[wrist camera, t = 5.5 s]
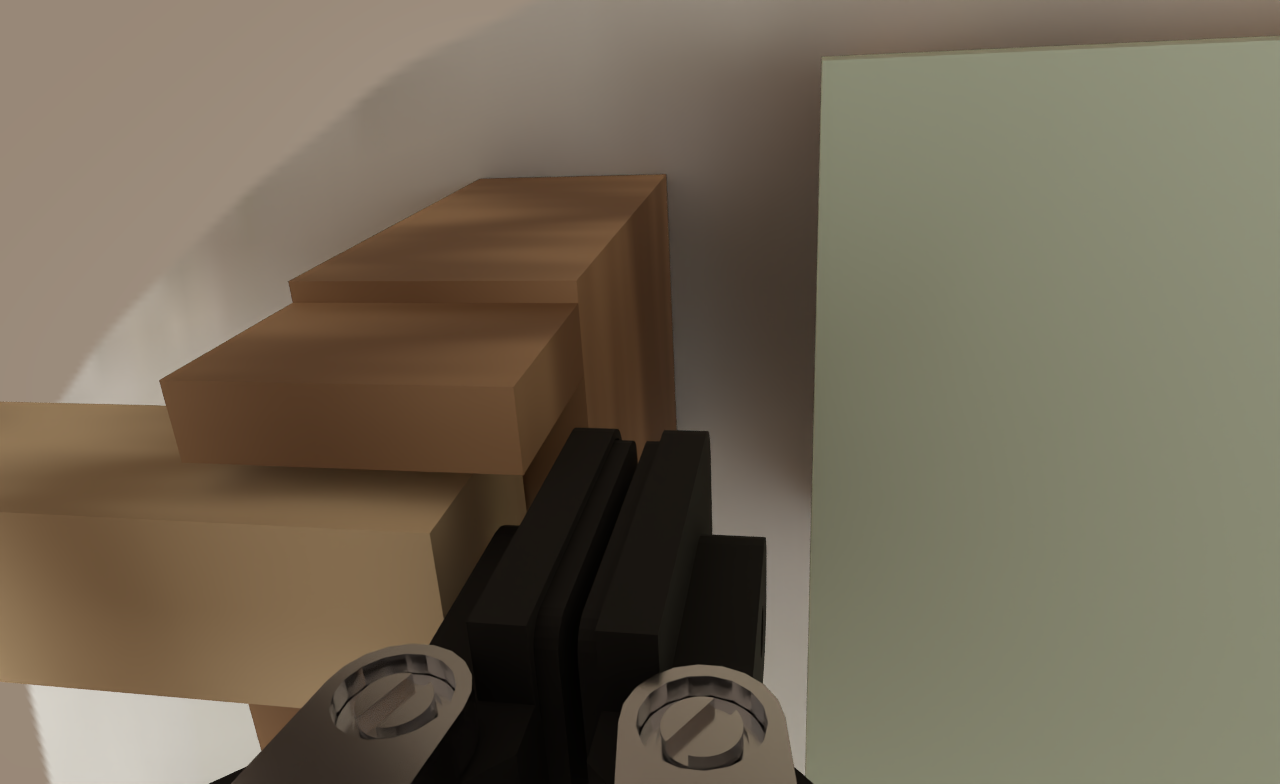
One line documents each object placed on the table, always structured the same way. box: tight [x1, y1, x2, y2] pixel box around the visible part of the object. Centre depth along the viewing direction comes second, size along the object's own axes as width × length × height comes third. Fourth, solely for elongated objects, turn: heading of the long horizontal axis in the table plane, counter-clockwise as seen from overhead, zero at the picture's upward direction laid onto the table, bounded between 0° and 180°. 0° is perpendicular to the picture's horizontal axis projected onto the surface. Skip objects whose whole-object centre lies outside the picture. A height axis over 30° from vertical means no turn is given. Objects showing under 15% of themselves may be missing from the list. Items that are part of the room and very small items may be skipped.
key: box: [0, 402, 527, 708], centre depth 12 cm, size 8×2×3 cm, turn 93°
